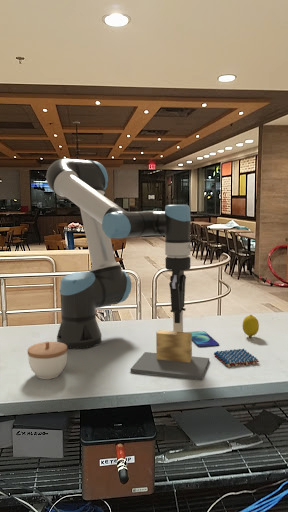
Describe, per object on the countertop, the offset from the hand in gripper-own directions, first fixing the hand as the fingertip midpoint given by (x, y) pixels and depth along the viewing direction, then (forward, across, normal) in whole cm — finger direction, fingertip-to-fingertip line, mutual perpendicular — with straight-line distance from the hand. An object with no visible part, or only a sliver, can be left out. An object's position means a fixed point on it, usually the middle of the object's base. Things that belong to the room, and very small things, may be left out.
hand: (178, 332), depth 131 cm
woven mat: (+8, +1, -18) cm, 19 cm away
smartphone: (+8, +17, -5) cm, 19 cm away
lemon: (+8, +24, -21) cm, 32 cm away
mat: (+7, -9, 0) cm, 12 cm away
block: (+6, -6, 0) cm, 9 cm away
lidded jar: (+8, -24, +32) cm, 40 cm away
